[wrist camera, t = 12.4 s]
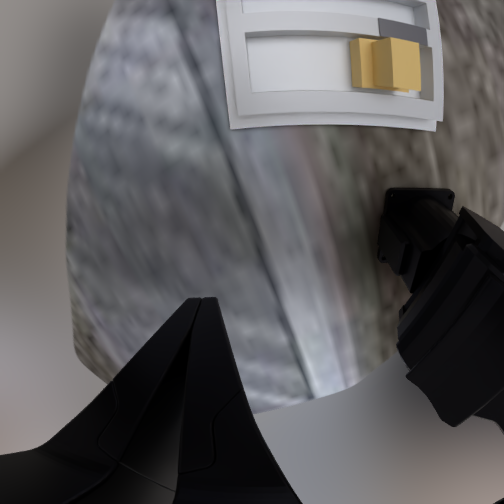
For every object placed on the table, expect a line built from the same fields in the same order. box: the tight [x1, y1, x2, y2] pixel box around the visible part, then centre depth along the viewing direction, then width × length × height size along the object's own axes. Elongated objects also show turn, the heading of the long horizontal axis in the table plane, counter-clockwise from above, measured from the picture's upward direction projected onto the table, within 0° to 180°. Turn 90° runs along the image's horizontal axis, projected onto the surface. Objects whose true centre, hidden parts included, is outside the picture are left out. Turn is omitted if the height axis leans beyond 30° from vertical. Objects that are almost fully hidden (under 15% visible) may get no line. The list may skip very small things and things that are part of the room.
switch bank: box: [216, 0, 444, 132], centre depth 11 cm, size 14×16×3 cm
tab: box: [349, 37, 421, 93], centre depth 11 cm, size 3×3×4 cm
